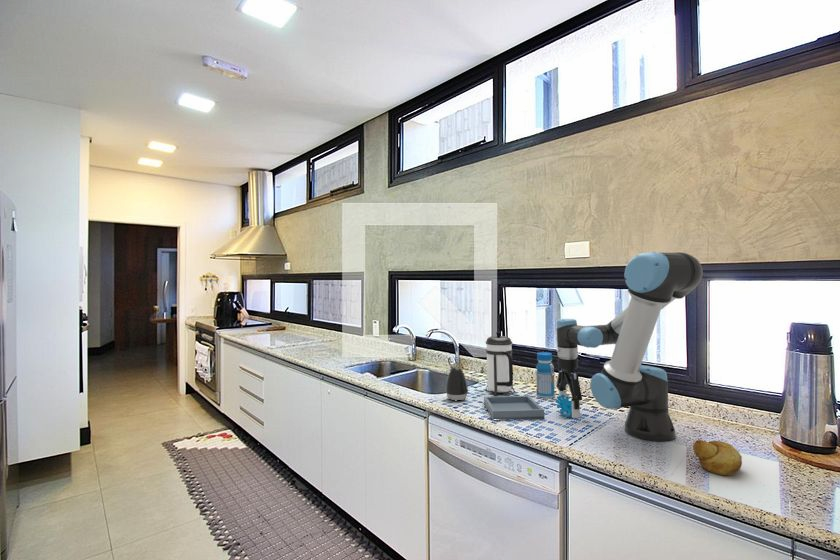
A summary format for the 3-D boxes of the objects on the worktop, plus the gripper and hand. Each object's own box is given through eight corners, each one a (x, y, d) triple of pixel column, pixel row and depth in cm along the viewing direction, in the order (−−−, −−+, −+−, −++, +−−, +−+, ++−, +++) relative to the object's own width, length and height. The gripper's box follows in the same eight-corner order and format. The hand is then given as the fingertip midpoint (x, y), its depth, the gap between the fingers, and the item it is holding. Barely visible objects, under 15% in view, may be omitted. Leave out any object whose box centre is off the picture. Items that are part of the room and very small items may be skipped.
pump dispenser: (462, 395, 187) (461, 363, 187) (471, 401, 177) (470, 367, 177) (442, 398, 184) (441, 365, 184) (451, 404, 174) (450, 369, 174)
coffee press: (478, 394, 188) (477, 332, 189) (492, 387, 201) (490, 328, 202) (512, 399, 178) (511, 334, 179) (525, 391, 191) (523, 330, 192)
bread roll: (712, 456, 116) (711, 429, 117) (752, 469, 108) (751, 440, 108) (690, 467, 110) (689, 439, 110) (731, 482, 101) (730, 451, 102)
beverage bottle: (541, 399, 178) (540, 355, 179) (533, 394, 187) (532, 352, 187) (558, 397, 180) (557, 354, 180) (549, 393, 188) (548, 351, 188)
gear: (563, 416, 149) (553, 393, 157) (555, 424, 153) (546, 401, 160) (587, 416, 153) (575, 394, 160) (578, 424, 157) (568, 401, 164)
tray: (544, 419, 152) (544, 409, 152) (493, 420, 152) (492, 411, 152) (529, 403, 172) (529, 395, 172) (484, 404, 172) (483, 396, 172)
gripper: (547, 352, 168) (549, 402, 167) (570, 364, 143) (572, 422, 143) (565, 352, 168) (566, 402, 167) (590, 363, 143) (592, 422, 143)
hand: (569, 411), depth 155 cm, fingers open, 12 cm apart
